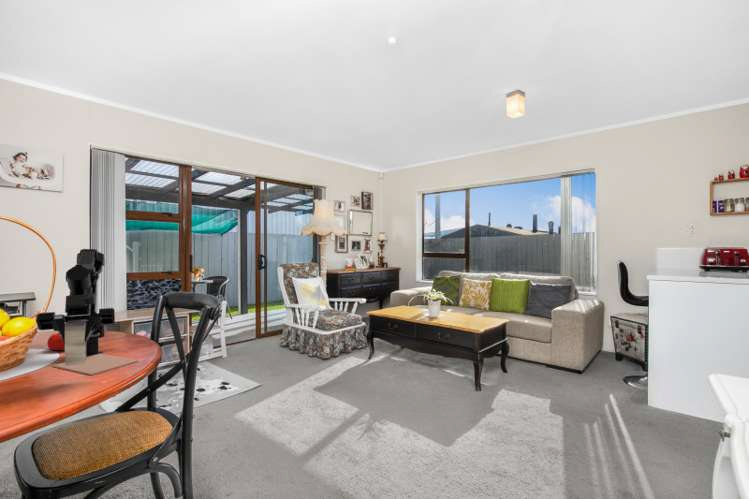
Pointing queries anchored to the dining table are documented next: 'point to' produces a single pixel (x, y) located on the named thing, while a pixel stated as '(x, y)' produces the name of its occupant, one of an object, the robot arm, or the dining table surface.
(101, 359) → the rubber mat
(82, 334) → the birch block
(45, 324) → the robot arm
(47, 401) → the dining table surface
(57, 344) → the tomato
